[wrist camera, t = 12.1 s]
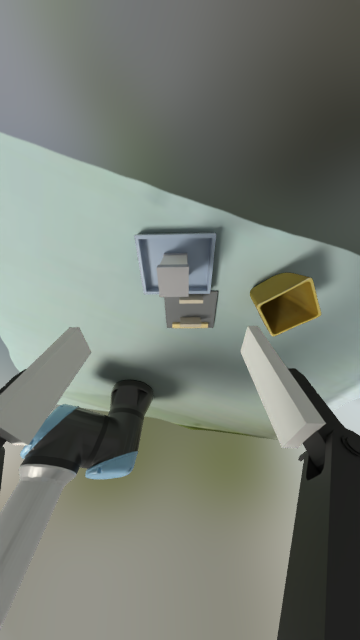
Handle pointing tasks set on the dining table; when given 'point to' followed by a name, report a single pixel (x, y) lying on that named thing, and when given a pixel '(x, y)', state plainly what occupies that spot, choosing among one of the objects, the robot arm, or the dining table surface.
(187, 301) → the block
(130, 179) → the dining table surface
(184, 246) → the tray
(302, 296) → the flower pot
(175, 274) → the block
